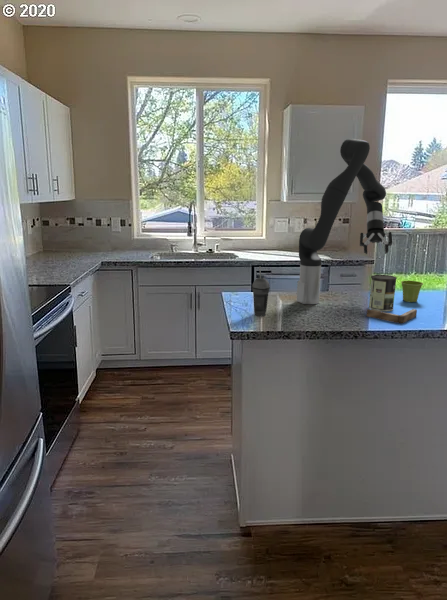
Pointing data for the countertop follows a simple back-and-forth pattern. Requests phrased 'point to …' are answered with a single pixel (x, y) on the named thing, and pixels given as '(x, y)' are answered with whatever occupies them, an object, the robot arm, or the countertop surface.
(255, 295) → the beverage cup
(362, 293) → the countertop surface
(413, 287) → the plant pot
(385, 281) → the coffee can
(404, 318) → the bracket
